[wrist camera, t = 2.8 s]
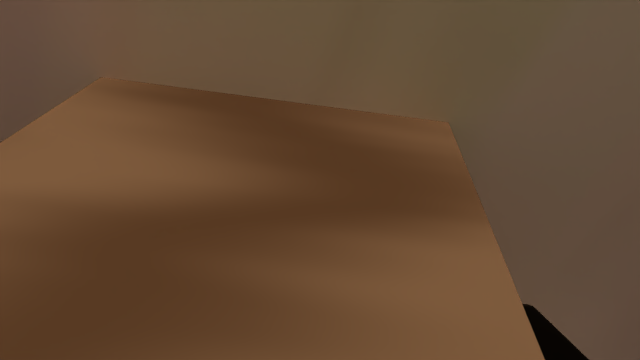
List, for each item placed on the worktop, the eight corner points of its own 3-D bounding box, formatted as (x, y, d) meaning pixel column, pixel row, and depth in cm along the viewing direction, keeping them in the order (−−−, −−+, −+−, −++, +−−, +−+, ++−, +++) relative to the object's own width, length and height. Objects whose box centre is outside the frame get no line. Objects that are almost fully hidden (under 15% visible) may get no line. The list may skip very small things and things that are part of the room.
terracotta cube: (447, 121, 8) (613, 531, 3) (384, 349, 11) (405, 742, 6) (103, 75, 8) (-384, 391, 3) (138, 316, 11) (-58, 674, 6)
